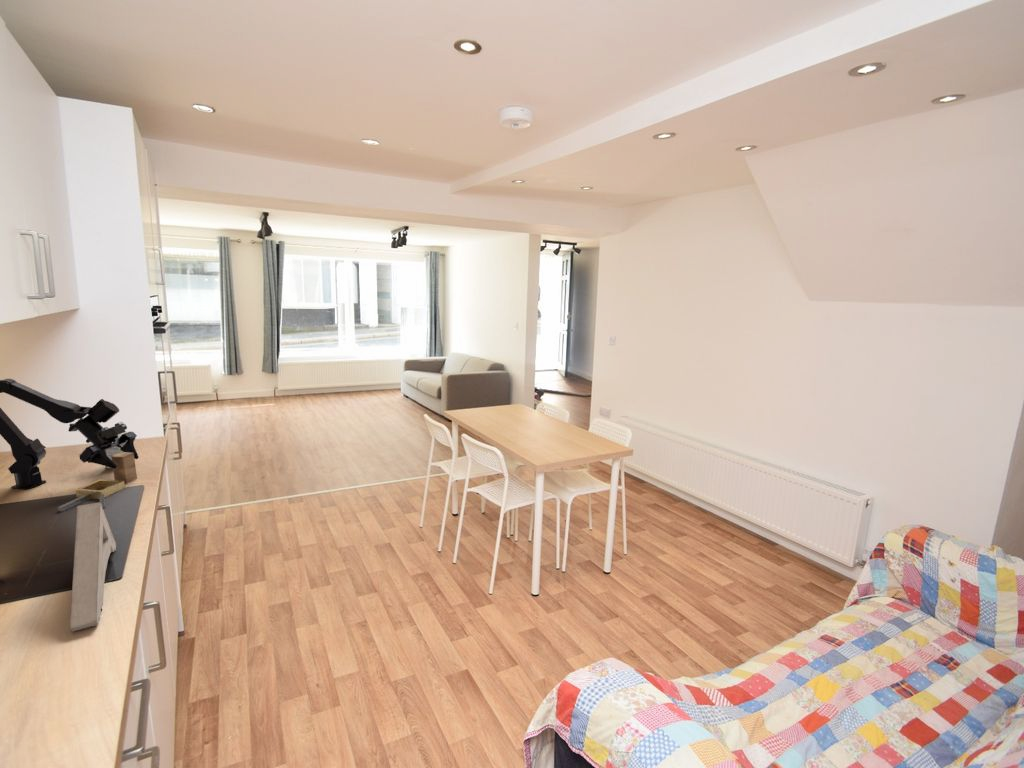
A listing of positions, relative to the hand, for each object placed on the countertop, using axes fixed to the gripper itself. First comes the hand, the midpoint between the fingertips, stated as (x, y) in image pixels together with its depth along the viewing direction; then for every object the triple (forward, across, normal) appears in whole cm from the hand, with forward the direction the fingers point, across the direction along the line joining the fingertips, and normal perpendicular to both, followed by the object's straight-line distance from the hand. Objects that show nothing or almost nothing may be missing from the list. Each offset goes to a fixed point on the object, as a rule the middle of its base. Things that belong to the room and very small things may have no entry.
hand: (127, 463), depth 178 cm
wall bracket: (+35, -57, -25) cm, 71 cm away
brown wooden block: (+4, 0, +6) cm, 7 cm away
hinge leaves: (+6, -15, +4) cm, 17 cm away
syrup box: (-6, +12, +16) cm, 21 cm away
